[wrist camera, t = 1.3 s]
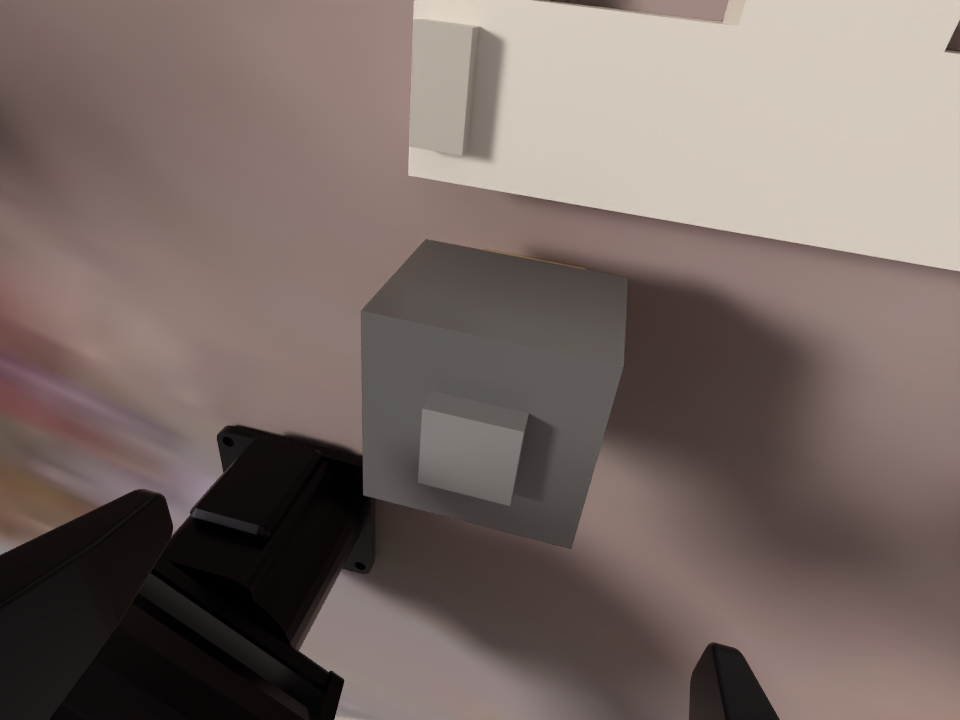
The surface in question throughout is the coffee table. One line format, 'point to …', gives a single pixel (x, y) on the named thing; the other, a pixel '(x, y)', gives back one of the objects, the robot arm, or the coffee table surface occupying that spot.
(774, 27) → the socket
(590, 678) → the coffee table surface
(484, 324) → the plug
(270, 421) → the coffee table surface
